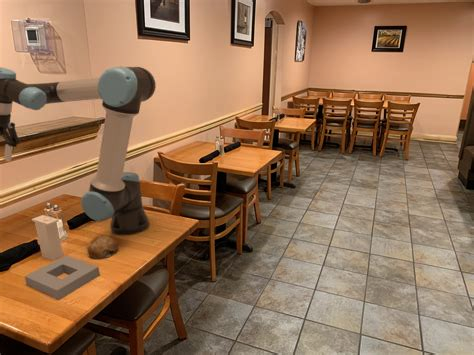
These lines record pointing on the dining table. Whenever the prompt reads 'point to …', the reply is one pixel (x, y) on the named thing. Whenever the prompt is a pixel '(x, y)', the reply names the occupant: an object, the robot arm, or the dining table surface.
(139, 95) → the robot arm
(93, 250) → the bread roll
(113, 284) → the dining table surface
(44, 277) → the frame
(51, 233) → the cream block
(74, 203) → the dining table surface
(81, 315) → the dining table surface
